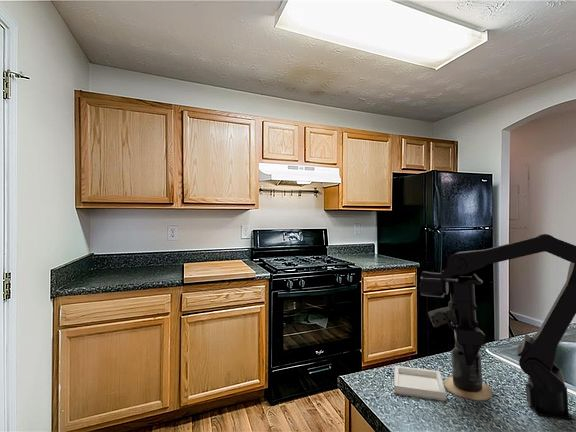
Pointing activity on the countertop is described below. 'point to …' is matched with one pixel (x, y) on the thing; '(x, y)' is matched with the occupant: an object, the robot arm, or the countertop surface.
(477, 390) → the supplement bottle
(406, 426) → the countertop surface
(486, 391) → the cork coaster
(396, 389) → the white tray
